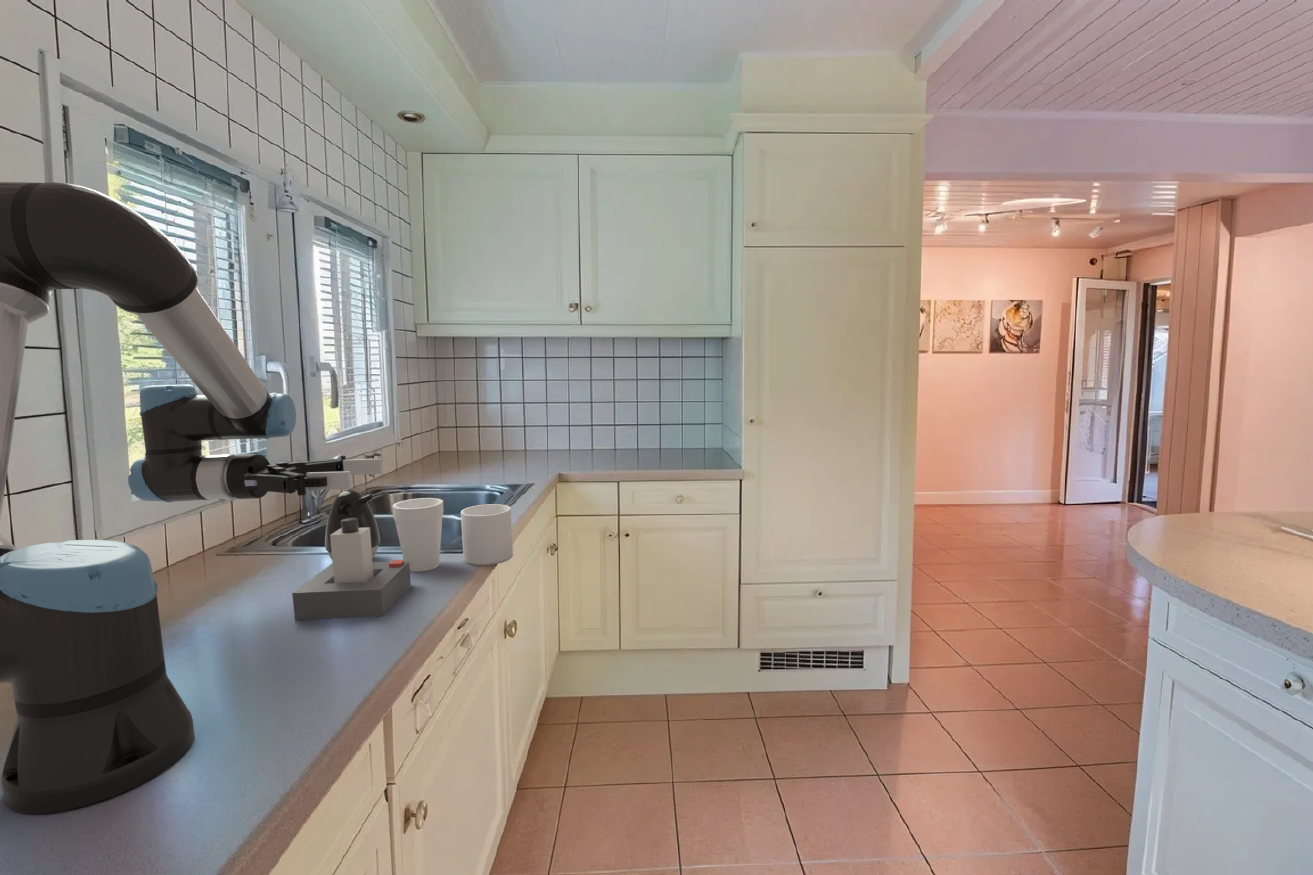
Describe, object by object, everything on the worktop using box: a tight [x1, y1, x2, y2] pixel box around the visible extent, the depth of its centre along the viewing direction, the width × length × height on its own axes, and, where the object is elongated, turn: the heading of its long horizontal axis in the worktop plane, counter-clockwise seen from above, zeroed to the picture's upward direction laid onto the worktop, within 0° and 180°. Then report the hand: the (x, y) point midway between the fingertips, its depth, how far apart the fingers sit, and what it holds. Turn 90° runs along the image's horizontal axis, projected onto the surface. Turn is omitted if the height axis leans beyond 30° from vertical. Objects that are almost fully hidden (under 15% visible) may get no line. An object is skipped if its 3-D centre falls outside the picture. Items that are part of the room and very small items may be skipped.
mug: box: [460, 503, 514, 567], centre depth 133 cm, size 13×10×10 cm
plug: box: [330, 518, 374, 583], centre depth 109 cm, size 4×5×13 cm
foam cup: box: [391, 497, 445, 573], centre depth 127 cm, size 10×9×13 cm
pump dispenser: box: [324, 489, 381, 560], centre depth 130 cm, size 10×10×15 cm
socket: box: [291, 559, 412, 621], centre depth 110 cm, size 14×14×5 cm
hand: (366, 472), depth 108 cm, fingers open, 13 cm apart
